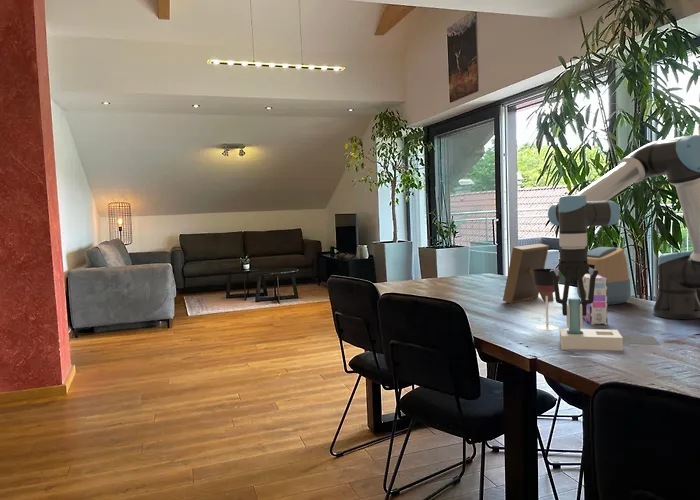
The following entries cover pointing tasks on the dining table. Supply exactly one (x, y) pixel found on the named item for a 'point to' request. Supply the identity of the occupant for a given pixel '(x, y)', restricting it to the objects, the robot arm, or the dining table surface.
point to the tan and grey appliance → (611, 272)
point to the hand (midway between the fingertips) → (574, 326)
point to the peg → (574, 316)
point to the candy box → (596, 301)
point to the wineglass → (545, 290)
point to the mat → (640, 340)
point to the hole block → (591, 339)
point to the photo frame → (525, 273)
